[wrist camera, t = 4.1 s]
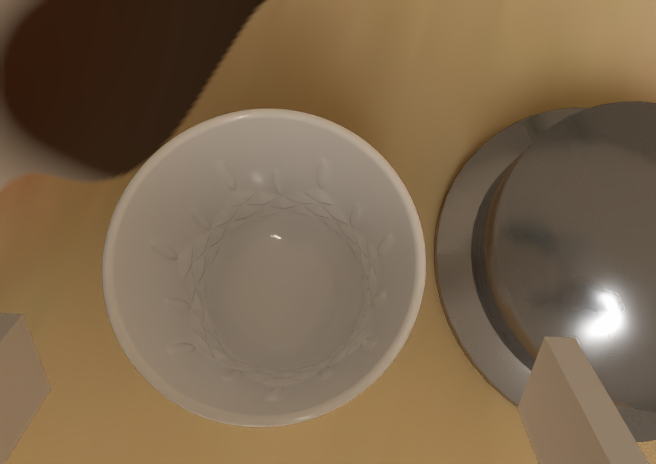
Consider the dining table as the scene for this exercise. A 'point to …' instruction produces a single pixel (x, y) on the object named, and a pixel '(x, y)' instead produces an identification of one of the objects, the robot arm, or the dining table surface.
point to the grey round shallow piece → (558, 251)
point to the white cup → (264, 268)
